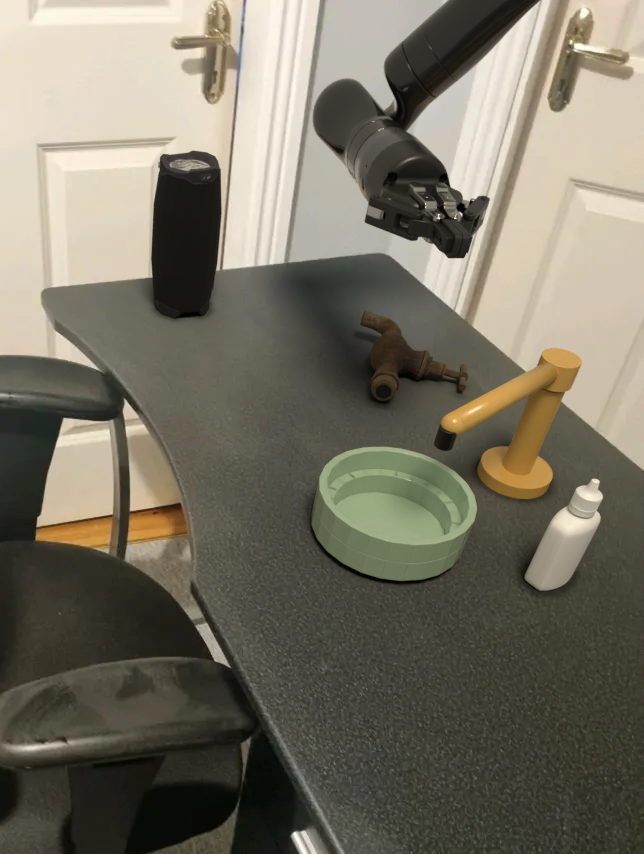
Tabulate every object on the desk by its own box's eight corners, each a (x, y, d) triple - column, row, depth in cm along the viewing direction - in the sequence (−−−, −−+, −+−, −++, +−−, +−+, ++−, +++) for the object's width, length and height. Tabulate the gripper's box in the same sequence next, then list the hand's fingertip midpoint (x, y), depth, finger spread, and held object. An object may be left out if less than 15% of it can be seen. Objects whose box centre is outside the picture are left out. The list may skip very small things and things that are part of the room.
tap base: (529, 455, 100) (568, 364, 92) (560, 497, 95) (604, 404, 86) (466, 458, 99) (499, 365, 91) (493, 501, 94) (532, 406, 85)
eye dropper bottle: (513, 562, 87) (556, 466, 78) (565, 561, 87) (614, 466, 79) (529, 592, 83) (576, 496, 75) (583, 591, 84) (635, 495, 76)
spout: (544, 371, 91) (555, 344, 88) (577, 388, 89) (589, 360, 86) (420, 438, 80) (429, 409, 78) (454, 459, 78) (465, 429, 76)
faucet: (354, 365, 103) (474, 400, 102) (368, 298, 114) (476, 330, 114) (342, 397, 106) (457, 431, 106) (357, 329, 118) (462, 360, 117)
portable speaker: (138, 309, 119) (141, 160, 106) (174, 286, 125) (181, 142, 111) (190, 328, 117) (200, 177, 103) (224, 303, 122) (238, 158, 109)
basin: (429, 484, 95) (443, 443, 91) (484, 581, 84) (502, 539, 80) (294, 491, 92) (302, 449, 89) (333, 591, 82) (344, 548, 78)
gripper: (345, 137, 85) (401, 204, 73) (468, 140, 88) (542, 206, 76) (331, 214, 91) (382, 288, 79) (448, 215, 93) (514, 287, 81)
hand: (460, 248), depth 77 cm, fingers closed
